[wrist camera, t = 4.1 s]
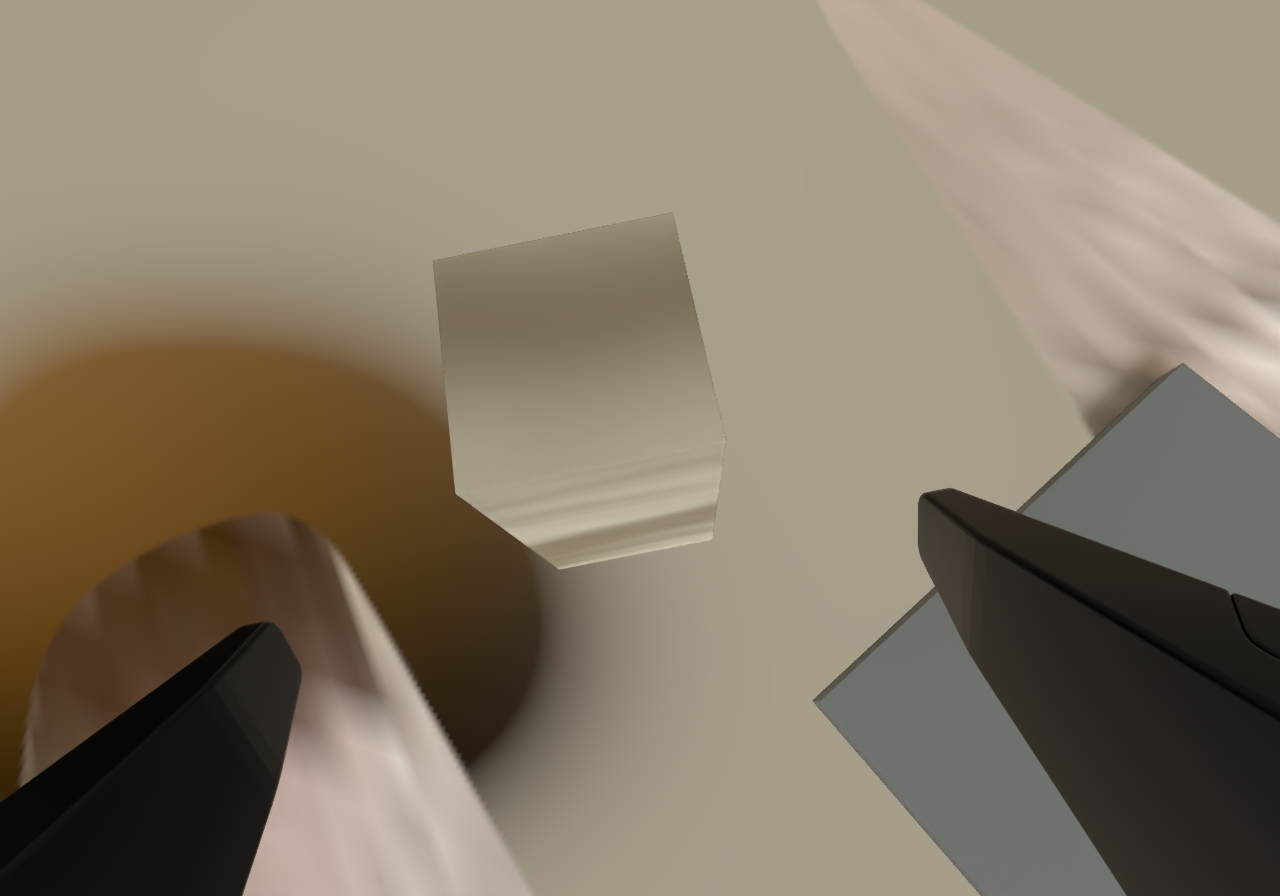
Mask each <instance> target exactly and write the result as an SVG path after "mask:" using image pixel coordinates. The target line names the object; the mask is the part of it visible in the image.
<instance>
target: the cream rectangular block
mask: <svg viewBox="0 0 1280 896" xmlns="http://www.w3.org/2000/svg"><path fill="white" fill-rule="evenodd" d="M433 267H434V277H435V287H436V297H437V308H438V318H439V329H440V339H441V349H442V360H443V370H444V380H445V391H446V401H447V410H448V411H447V412H448V421H449V432H450V442H451V453H452V463H453V473H454V484H455V493H456V494H457V495H458V496H459V497H461V498H462V499H464V500H465V501H466V502H468V503H469V504H471V505H472V506H473V507H475V508H476V509H477V510H479V511H480V512H481V513H483V514H484V515H485V516H487V517H488V518H489V519H491V520H492V521H494V522H495V523H496V524H498V525H499V526H500V527H502V528H503V529H505V530H506V531H507V532H509V533H510V534H511V535H513V536H514V537H515V538H517V539H518V540H519V541H521V542H522V543H524V544H525V545H526V546H528V547H529V548H530V549H532V550H533V551H534V552H536V553H537V554H539V555H540V556H541V557H543V558H544V559H546V560H547V561H548V562H549V563H551V564H552V565H554V566H555V567H556V568H558V569H564V568H569V567H574V566H580V565H585V564H589V563H595V562H600V561H605V560H610V559H615V558H620V557H625V556H631V555H636V554H641V553H646V552H652V551H657V550H662V549H667V548H672V547H677V546H682V545H687V544H693V543H698V542H703V541H708V540H712V536H713V530H714V523H715V516H716V509H717V502H718V495H719V488H720V481H721V474H722V467H723V458H724V452H725V445H726V438H725V433H724V429H723V425H722V421H721V416H720V412H719V408H718V404H717V399H716V395H715V391H714V386H713V382H712V378H711V374H710V369H709V365H708V361H707V357H706V352H705V348H704V344H703V340H702V335H701V331H700V327H699V323H698V319H697V314H696V310H695V306H694V301H693V297H692V293H691V289H690V284H689V280H688V276H687V271H686V267H685V263H684V259H683V255H682V251H681V246H680V242H679V237H678V233H677V229H676V225H675V220H674V216H673V213H668V214H663V215H658V216H653V217H648V218H643V219H638V220H633V221H628V222H623V223H619V224H613V225H608V226H603V227H598V228H593V229H588V230H583V231H578V232H573V233H568V234H564V235H559V236H554V237H548V238H544V239H539V240H534V241H529V242H524V243H519V244H514V245H509V246H504V247H499V248H494V249H489V250H484V251H479V252H474V253H469V254H465V255H459V256H454V257H449V258H444V259H439V260H435V261H433Z"/></svg>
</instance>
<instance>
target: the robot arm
mask: <svg viewBox="0 0 1280 896" xmlns="http://www.w3.org/2000/svg"><path fill="white" fill-rule="evenodd" d="M918 548H919V552H920V556H921V559H922V561H923V563H924V565H925V567H926V569H927V571H928V573H929V575H930V577H931V579H932V581H933V583H934V585H935V587H936V589H937V591H938V593H939V595H940V597H941V599H942V601H943V603H944V605H945V607H946V609H947V611H948V613H949V615H950V617H951V619H952V621H953V623H954V625H955V627H956V629H957V631H958V633H959V635H960V637H961V639H962V641H963V643H964V645H965V647H966V649H967V651H968V652H969V654H970V656H971V657H972V659H973V661H974V662H975V664H976V666H977V667H978V669H979V670H980V672H981V673H982V675H983V676H984V678H985V680H986V681H987V683H988V684H989V686H990V687H991V689H992V690H993V692H994V693H995V695H996V696H997V698H998V699H999V701H1000V703H1001V704H1002V706H1003V707H1004V709H1005V710H1006V712H1007V713H1008V715H1009V716H1010V718H1011V719H1012V721H1013V723H1014V724H1015V726H1016V727H1017V729H1018V730H1019V732H1020V733H1021V735H1022V736H1023V738H1024V739H1025V741H1026V742H1027V744H1028V746H1029V747H1030V749H1031V750H1032V752H1033V753H1034V755H1035V756H1036V758H1037V759H1038V761H1039V762H1040V764H1041V765H1042V767H1043V769H1044V770H1045V772H1046V773H1047V775H1048V776H1049V778H1050V779H1051V781H1052V782H1053V784H1054V785H1055V787H1056V789H1057V790H1058V792H1059V793H1060V795H1061V796H1062V798H1063V799H1064V801H1065V802H1066V804H1067V805H1068V807H1069V808H1070V810H1071V812H1072V813H1073V815H1074V816H1075V818H1076V819H1077V821H1078V822H1079V824H1080V825H1081V827H1082V828H1083V830H1084V831H1085V833H1086V835H1087V836H1088V838H1089V839H1090V841H1091V842H1092V844H1093V845H1094V847H1095V848H1096V850H1097V851H1098V853H1099V855H1100V856H1101V858H1102V859H1103V861H1104V862H1105V864H1106V865H1107V867H1108V868H1109V870H1110V871H1111V873H1112V874H1113V876H1114V878H1115V879H1116V881H1117V882H1118V884H1119V885H1120V887H1121V888H1122V890H1123V891H1124V893H1125V894H1126V896H1280V609H1279V608H1276V607H1273V606H1270V605H1268V604H1265V603H1262V602H1260V601H1257V600H1254V599H1252V598H1249V597H1246V596H1244V595H1241V594H1238V593H1233V594H1231V595H1230V593H1229V591H1228V590H1226V589H1224V588H1221V587H1219V586H1216V585H1213V584H1211V583H1208V582H1205V581H1202V580H1200V579H1197V578H1194V577H1192V576H1189V575H1186V574H1183V573H1181V572H1178V571H1175V570H1173V569H1170V568H1167V567H1164V566H1162V565H1159V564H1156V563H1154V562H1151V561H1148V560H1145V559H1143V558H1140V557H1137V556H1135V555H1132V554H1129V553H1126V552H1124V551H1121V550H1118V549H1116V548H1113V547H1110V546H1108V545H1105V544H1102V543H1099V542H1097V541H1094V540H1091V539H1089V538H1086V537H1083V536H1080V535H1078V534H1075V533H1072V532H1070V531H1067V530H1064V529H1061V528H1059V527H1056V526H1053V525H1051V524H1048V523H1045V522H1042V521H1040V520H1037V519H1034V518H1032V517H1029V516H1026V515H1023V514H1021V513H1018V512H1015V511H1013V510H1010V509H1007V508H1004V507H1002V506H999V505H996V504H994V503H991V502H988V501H985V500H983V499H979V498H977V497H974V496H972V495H969V494H966V493H964V492H961V491H958V490H955V489H952V488H947V489H942V490H937V491H931V492H927V493H923V494H922V495H921V497H920V499H919V502H918ZM301 680H302V671H301V666H300V663H299V661H298V659H297V657H296V655H295V654H294V652H293V650H292V648H291V646H290V645H289V643H288V641H287V639H286V637H285V636H284V634H283V632H282V630H281V629H280V627H279V626H278V625H277V624H276V623H274V622H271V621H265V622H259V623H254V624H249V625H244V626H242V627H240V628H238V629H236V630H235V631H234V632H232V633H231V634H230V635H228V636H227V637H226V638H224V639H223V640H221V641H220V642H219V643H217V644H216V645H215V646H213V647H212V648H211V649H209V650H208V651H206V652H205V653H204V654H202V655H201V656H200V657H198V658H197V659H195V660H194V661H193V662H191V663H190V664H189V665H187V666H186V667H185V668H183V669H182V670H180V671H179V672H178V673H176V674H175V675H174V676H172V677H171V678H170V679H168V680H167V681H165V682H164V683H163V684H161V685H160V686H159V687H157V688H156V689H155V690H153V691H152V692H150V693H149V694H148V695H146V696H145V697H144V698H142V699H141V700H140V701H138V702H137V703H135V704H134V705H133V706H131V707H130V708H129V709H127V710H126V711H124V712H123V713H122V714H120V715H119V716H118V717H116V718H115V719H114V720H112V721H111V722H109V723H108V724H107V725H105V726H104V727H103V728H101V729H100V730H99V731H97V732H96V733H94V734H93V735H92V736H90V737H89V738H88V739H86V740H85V741H84V742H82V743H81V744H79V745H78V746H77V747H75V748H74V749H73V750H71V751H70V752H68V753H67V754H66V755H64V756H63V757H62V758H60V759H59V760H58V761H56V762H55V763H53V764H52V765H51V766H49V767H48V768H47V769H45V770H44V771H43V772H41V773H40V774H38V775H37V776H36V777H34V778H33V779H32V780H30V781H29V782H28V783H26V784H25V785H23V786H22V787H21V788H19V789H18V790H17V791H15V792H14V793H13V794H11V795H10V796H9V797H7V798H6V799H4V800H3V801H2V802H0V896H242V895H243V892H244V889H245V886H246V883H247V880H248V877H249V874H250V871H251V868H252V865H253V862H254V859H255V856H256V853H257V850H258V847H259V844H260V841H261V837H262V834H263V831H264V828H265V825H266V822H267V819H268V816H269V813H270V810H271V807H272V804H273V801H274V797H275V794H276V791H277V787H278V784H279V780H280V776H281V772H282V768H283V764H284V759H285V754H286V750H287V745H288V741H289V736H290V731H291V727H292V722H293V718H294V713H295V708H296V704H297V699H298V695H299V690H300V686H301Z"/></svg>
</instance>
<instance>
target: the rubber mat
mask: <svg viewBox="0 0 1280 896" xmlns="http://www.w3.org/2000/svg"><path fill="white" fill-rule="evenodd" d="M1016 512H1018V513H1021V514H1023V515H1026V516H1029V517H1032V518H1034V519H1037V520H1040V521H1042V522H1045V523H1048V524H1051V525H1053V526H1056V527H1059V528H1061V529H1064V530H1067V531H1070V532H1072V533H1075V534H1078V535H1080V536H1083V537H1086V538H1089V539H1091V540H1094V541H1097V542H1099V543H1102V544H1105V545H1108V546H1110V547H1113V548H1116V549H1118V550H1121V551H1124V552H1126V553H1129V554H1132V555H1135V556H1137V557H1140V558H1143V559H1145V560H1148V561H1151V562H1154V563H1156V564H1159V565H1162V566H1164V567H1167V568H1170V569H1173V570H1175V571H1178V572H1181V573H1183V574H1186V575H1189V576H1192V577H1194V578H1197V579H1200V580H1202V581H1205V582H1208V583H1211V584H1213V585H1216V586H1219V587H1221V588H1224V589H1226V590H1228V591H1229V593H1230V595H1231V594H1233V593H1238V594H1241V595H1244V596H1246V597H1249V598H1252V599H1254V600H1257V601H1260V602H1262V603H1265V604H1268V605H1270V606H1273V607H1276V608H1279V609H1280V439H1279V438H1278V437H1276V436H1275V435H1274V434H1273V433H1271V432H1270V431H1269V430H1268V429H1266V428H1265V427H1264V426H1263V425H1261V424H1260V423H1259V422H1257V421H1256V420H1255V419H1254V418H1252V417H1251V416H1250V415H1249V414H1247V413H1246V412H1245V411H1244V410H1242V409H1241V408H1240V407H1238V406H1237V405H1236V404H1235V403H1233V402H1232V401H1231V400H1230V399H1228V398H1227V397H1226V396H1225V395H1223V394H1222V393H1221V392H1219V391H1218V390H1217V389H1216V388H1214V387H1213V386H1212V385H1211V384H1209V383H1208V382H1207V381H1205V380H1204V379H1203V378H1202V377H1200V376H1199V375H1198V374H1197V373H1195V372H1194V371H1193V370H1192V369H1190V368H1189V367H1188V366H1186V365H1185V364H1184V363H1182V364H1181V365H1179V366H1177V367H1176V368H1174V369H1173V370H1171V371H1169V372H1168V373H1166V374H1165V375H1163V376H1161V377H1160V378H1159V379H1158V380H1157V381H1156V382H1154V383H1153V384H1152V385H1151V386H1150V387H1149V388H1148V389H1147V390H1146V391H1145V392H1144V393H1143V394H1142V395H1140V396H1139V397H1138V398H1137V399H1136V400H1135V401H1134V402H1133V403H1132V404H1131V405H1130V406H1129V407H1128V408H1126V409H1125V410H1124V411H1123V412H1122V413H1121V414H1120V415H1119V416H1118V417H1117V418H1116V419H1115V420H1114V421H1113V422H1111V423H1110V424H1109V425H1108V426H1107V427H1106V428H1105V429H1104V430H1103V431H1102V432H1101V433H1100V434H1099V435H1097V436H1096V437H1095V438H1094V439H1093V440H1092V441H1091V442H1090V443H1089V444H1088V445H1087V446H1086V447H1085V448H1083V449H1082V450H1081V451H1080V452H1079V453H1078V454H1077V455H1076V456H1075V457H1074V458H1073V459H1072V460H1071V461H1070V462H1069V463H1068V464H1066V465H1065V466H1064V467H1063V468H1062V469H1061V470H1060V471H1059V472H1058V473H1057V474H1056V475H1054V477H1052V478H1051V479H1050V480H1049V481H1048V482H1047V483H1046V484H1045V485H1044V486H1043V487H1042V488H1041V489H1039V490H1038V491H1037V492H1036V493H1035V494H1034V495H1033V496H1032V497H1031V498H1030V499H1029V500H1028V501H1027V502H1026V503H1024V504H1023V506H1021V507H1020V508H1019V509H1018V510H1017V511H1016ZM813 702H814V703H815V704H816V705H817V707H818V708H819V709H820V710H821V711H822V712H823V713H824V715H825V716H826V717H827V718H828V719H829V720H830V721H831V723H832V724H833V725H834V726H835V727H836V729H837V730H838V731H839V732H840V733H841V734H842V735H843V737H844V738H845V739H846V740H847V741H848V742H849V743H850V745H851V746H852V747H853V748H854V749H855V750H856V752H857V753H858V754H859V755H860V756H861V757H862V759H863V760H864V761H865V762H866V763H867V764H868V765H869V767H870V768H871V769H872V770H873V771H874V773H875V774H876V775H877V776H878V777H879V778H880V780H881V781H882V782H883V783H884V784H885V785H886V786H887V788H888V789H889V790H890V791H891V792H892V793H893V794H894V796H895V797H896V798H897V799H898V800H899V802H900V803H901V804H902V805H903V806H904V807H905V808H906V810H907V811H908V812H909V813H910V814H911V815H912V817H913V818H914V819H915V820H916V821H917V822H918V824H919V825H920V826H921V827H922V828H923V829H924V830H925V831H926V833H927V834H928V835H929V836H930V837H931V838H932V840H933V841H934V842H935V843H936V844H937V845H938V847H939V848H940V849H941V850H942V851H943V852H944V854H945V855H946V856H947V857H948V858H949V859H950V860H951V862H952V863H953V864H954V865H955V866H956V867H957V869H959V871H960V872H961V873H962V874H963V875H964V876H965V878H966V879H967V880H968V881H969V883H970V884H971V885H972V886H973V887H974V888H975V889H976V891H977V892H978V893H979V894H980V895H981V896H1126V894H1125V893H1124V891H1123V890H1122V888H1121V887H1120V885H1119V884H1118V882H1117V881H1116V879H1115V878H1114V876H1113V874H1112V873H1111V871H1110V870H1109V868H1108V867H1107V865H1106V864H1105V862H1104V861H1103V859H1102V858H1101V856H1100V855H1099V853H1098V851H1097V850H1096V848H1095V847H1094V845H1093V844H1092V842H1091V841H1090V839H1089V838H1088V836H1087V835H1086V833H1085V831H1084V830H1083V828H1082V827H1081V825H1080V824H1079V822H1078V821H1077V819H1076V818H1075V816H1074V815H1073V813H1072V812H1071V810H1070V808H1069V807H1068V805H1067V804H1066V802H1065V801H1064V799H1063V798H1062V796H1061V795H1060V793H1059V792H1058V790H1057V789H1056V787H1055V785H1054V784H1053V782H1052V781H1051V779H1050V778H1049V776H1048V775H1047V773H1046V772H1045V770H1044V769H1043V767H1042V765H1041V764H1040V762H1039V761H1038V759H1037V758H1036V756H1035V755H1034V753H1033V752H1032V750H1031V749H1030V747H1029V746H1028V744H1027V742H1026V741H1025V739H1024V738H1023V736H1022V735H1021V733H1020V732H1019V730H1018V729H1017V727H1016V726H1015V724H1014V723H1013V721H1012V719H1011V718H1010V716H1009V715H1008V713H1007V712H1006V710H1005V709H1004V707H1003V706H1002V704H1001V703H1000V701H999V699H998V698H997V696H996V695H995V693H994V692H993V690H992V689H991V687H990V686H989V684H988V683H987V681H986V680H985V678H984V676H983V675H982V673H981V672H980V670H979V669H978V667H977V666H976V664H975V662H974V661H973V659H972V657H971V656H970V654H969V652H968V651H967V649H966V647H965V645H964V643H963V641H962V639H961V637H960V635H959V633H958V631H957V629H956V627H955V625H954V623H953V621H952V619H951V617H950V615H949V613H948V611H947V609H946V607H945V605H944V603H943V601H942V599H941V597H940V595H939V593H938V591H937V589H936V587H934V588H933V589H932V590H931V591H930V592H929V593H928V594H927V595H926V596H924V598H922V599H921V600H920V601H919V602H918V603H917V604H916V605H915V606H914V607H913V608H912V609H911V610H909V611H908V612H907V613H906V614H905V615H904V616H903V617H902V618H901V619H900V620H899V621H898V622H896V623H895V624H894V625H893V626H892V627H891V628H890V629H889V630H888V631H887V632H886V633H885V634H884V635H882V636H881V638H879V639H878V640H877V641H876V642H875V643H874V644H873V645H872V646H871V647H870V648H868V649H867V650H866V651H865V652H864V653H863V654H862V655H861V656H860V657H859V658H858V659H857V660H856V661H855V662H853V663H852V664H851V665H850V666H849V667H848V668H847V669H846V670H845V671H844V672H843V673H842V674H841V675H839V676H838V677H837V678H836V679H835V680H834V681H833V682H832V683H831V684H830V685H829V686H828V687H827V688H826V689H824V690H823V691H822V692H821V693H820V694H819V695H818V696H817V697H816V698H815V699H814V700H813Z"/></svg>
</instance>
